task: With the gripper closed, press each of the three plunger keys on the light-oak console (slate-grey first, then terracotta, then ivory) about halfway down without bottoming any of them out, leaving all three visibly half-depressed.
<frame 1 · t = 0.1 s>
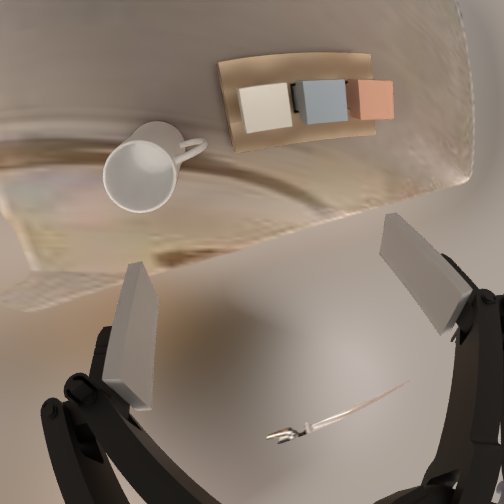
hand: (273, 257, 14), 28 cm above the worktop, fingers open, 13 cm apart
terracotta key: (361, 96, 28), point 8 cm above the worktop, slide at 0.0 cm
ivory key: (259, 104, 28), point 8 cm above the worktop, slide at 0.0 cm
slate key: (314, 98, 28), point 8 cm above the worktop, slide at 0.0 cm
console: (294, 94, 34), on the worktop
mug: (167, 146, 36), on the worktop
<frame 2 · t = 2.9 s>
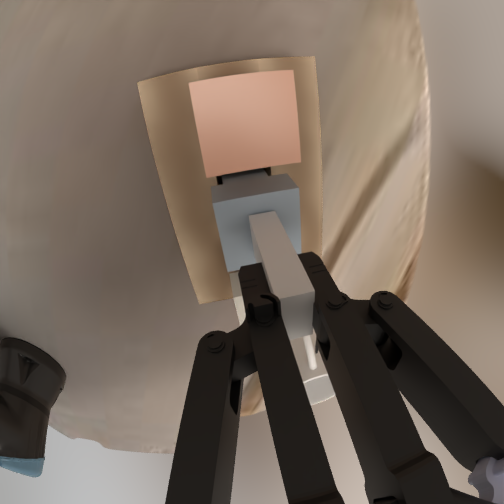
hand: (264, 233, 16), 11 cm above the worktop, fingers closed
terracotta key: (239, 114, 15), point 7 cm above the worktop, slide at 0.0 cm
ivory key: (262, 282, 22), point 7 cm above the worktop, slide at 0.0 cm
slate key: (251, 206, 19), point 7 cm above the worktop, slide at 0.6 cm, touching gripper
console: (238, 174, 25), on the worktop
mug: (289, 307, 36), on the worktop
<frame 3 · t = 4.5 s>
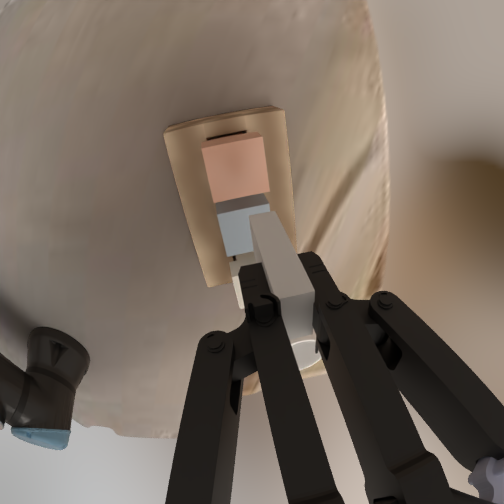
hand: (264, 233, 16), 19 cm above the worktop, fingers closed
terracotta key: (232, 159, 24), point 8 cm above the worktop, slide at 0.0 cm
ivory key: (252, 268, 32), point 8 cm above the worktop, slide at 0.0 cm
slate key: (242, 214, 29), point 6 cm above the worktop, slide at 1.2 cm
console: (235, 191, 34), on the worktop
mug: (278, 292, 46), on the worktop
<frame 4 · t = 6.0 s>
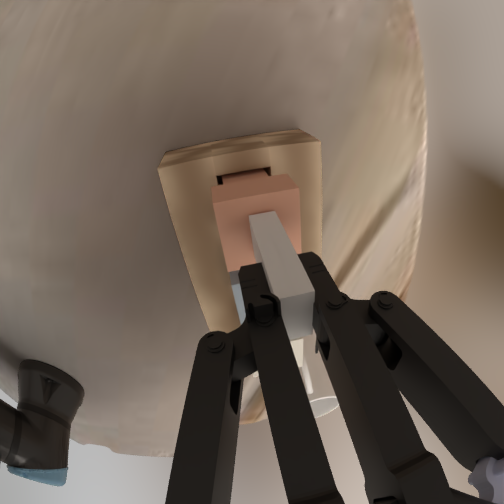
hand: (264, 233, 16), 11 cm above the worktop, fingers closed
terracotta key: (251, 206, 19), point 7 cm above the worktop, slide at 0.5 cm, touching gripper
ivory key: (269, 330, 26), point 8 cm above the worktop, slide at 0.0 cm
slate key: (259, 272, 23), point 6 cm above the worktop, slide at 1.2 cm
console: (248, 233, 28), on the worktop
mug: (290, 335, 40), on the worktop
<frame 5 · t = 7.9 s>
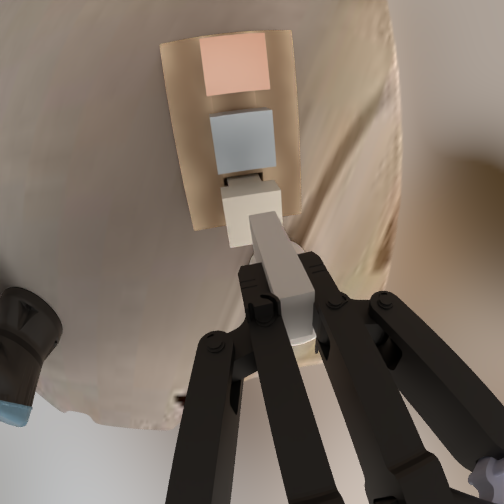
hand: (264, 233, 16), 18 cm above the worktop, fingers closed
terracotta key: (231, 65, 20), point 6 cm above the worktop, slide at 1.2 cm
ivory key: (248, 202, 26), point 8 cm above the worktop, slide at 0.0 cm
slate key: (239, 134, 23), point 6 cm above the worktop, slide at 1.2 cm
console: (233, 124, 28), on the worktop
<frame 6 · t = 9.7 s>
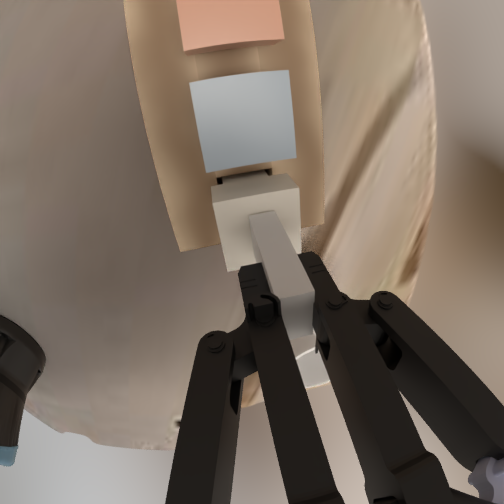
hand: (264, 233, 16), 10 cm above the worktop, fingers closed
terracotta key: (223, 16, 11), point 6 cm above the worktop, slide at 1.2 cm
ivory key: (251, 206, 19), point 6 cm above the worktop, slide at 1.0 cm, touching gripper
slate key: (237, 112, 15), point 6 cm above the worktop, slide at 1.2 cm
console: (228, 105, 20), on the worktop
mug: (289, 271, 32), on the worktop
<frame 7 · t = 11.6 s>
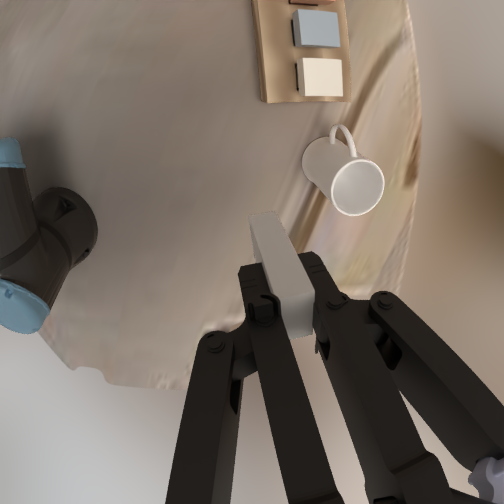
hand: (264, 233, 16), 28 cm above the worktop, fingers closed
ivory key: (313, 77, 29), point 6 cm above the worktop, slide at 1.2 cm
slate key: (310, 31, 25), point 6 cm above the worktop, slide at 1.2 cm
console: (296, 38, 31), on the worktop
mug: (325, 151, 42), on the worktop
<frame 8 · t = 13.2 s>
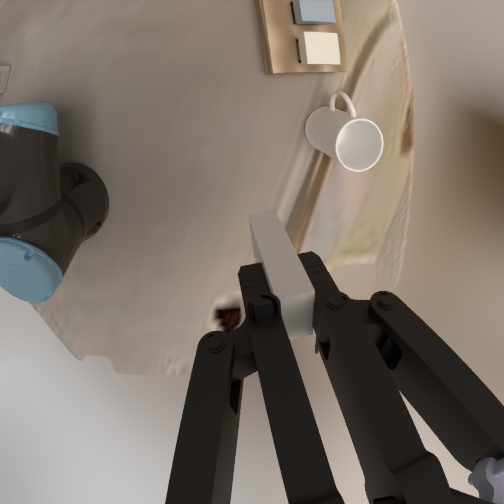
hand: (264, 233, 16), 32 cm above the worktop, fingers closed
ivory key: (313, 49, 30), point 6 cm above the worktop, slide at 1.2 cm
slate key: (308, 11, 27), point 6 cm above the worktop, slide at 1.2 cm
console: (294, 19, 32), on the worktop
mug: (326, 120, 43), on the worktop
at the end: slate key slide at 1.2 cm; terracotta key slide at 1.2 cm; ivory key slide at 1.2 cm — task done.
